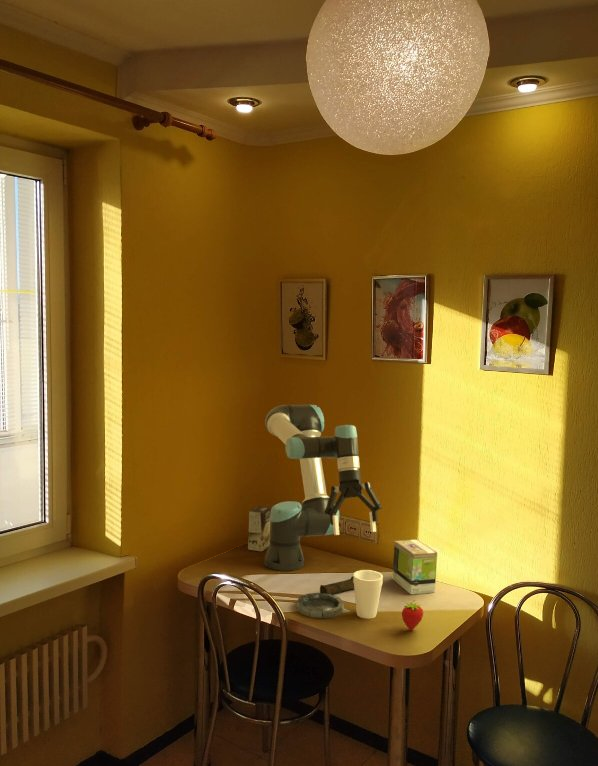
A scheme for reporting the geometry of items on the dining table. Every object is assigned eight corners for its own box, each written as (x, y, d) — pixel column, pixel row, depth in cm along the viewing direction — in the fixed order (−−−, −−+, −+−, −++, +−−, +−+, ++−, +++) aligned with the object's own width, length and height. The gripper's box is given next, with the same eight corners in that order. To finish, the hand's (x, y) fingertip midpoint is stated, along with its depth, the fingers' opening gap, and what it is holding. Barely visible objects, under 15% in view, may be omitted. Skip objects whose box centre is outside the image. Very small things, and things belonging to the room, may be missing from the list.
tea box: (436, 592, 245) (438, 551, 243) (410, 595, 242) (412, 554, 240) (416, 576, 259) (418, 538, 257) (391, 579, 256) (393, 540, 254)
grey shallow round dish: (291, 601, 234) (291, 595, 233) (333, 596, 238) (333, 591, 238) (305, 620, 219) (305, 614, 219) (350, 615, 224) (350, 609, 224)
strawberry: (426, 630, 215) (428, 599, 214) (411, 637, 210) (413, 605, 209) (411, 623, 219) (413, 593, 218) (396, 630, 214) (397, 599, 213)
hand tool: (325, 598, 237) (325, 585, 237) (318, 594, 240) (319, 581, 240) (370, 589, 247) (370, 576, 246) (363, 585, 250) (364, 572, 250)
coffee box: (262, 552, 280) (263, 512, 278) (247, 549, 282) (248, 510, 280) (270, 544, 289) (271, 507, 287) (256, 542, 291) (257, 505, 289)
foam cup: (387, 615, 225) (388, 576, 224) (368, 623, 219) (370, 583, 217) (364, 605, 232) (366, 567, 231) (345, 613, 225) (347, 574, 224)
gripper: (312, 473, 242) (316, 536, 237) (378, 465, 231) (385, 530, 226) (321, 475, 249) (326, 535, 244) (387, 466, 237) (393, 530, 233)
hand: (354, 533), depth 235 cm, fingers open, 13 cm apart
